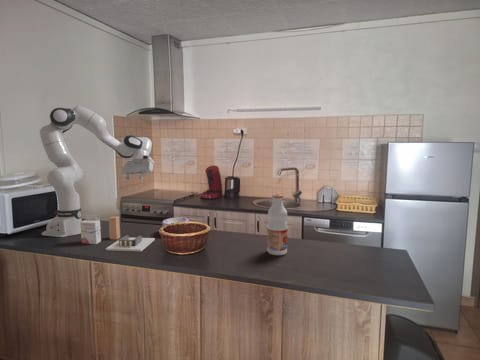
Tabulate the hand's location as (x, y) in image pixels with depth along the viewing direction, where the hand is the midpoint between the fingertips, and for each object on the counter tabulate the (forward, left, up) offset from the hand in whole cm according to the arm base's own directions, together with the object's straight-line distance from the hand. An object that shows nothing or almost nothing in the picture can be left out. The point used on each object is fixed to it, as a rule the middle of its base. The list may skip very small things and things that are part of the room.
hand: (134, 179), depth 188 cm
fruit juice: (+86, -34, -31) cm, 97 cm away
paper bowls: (+28, -8, -31) cm, 42 cm away
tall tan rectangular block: (-3, -20, -31) cm, 37 cm away
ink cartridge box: (-12, -28, -31) cm, 43 cm away
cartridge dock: (+11, -30, -31) cm, 44 cm away
